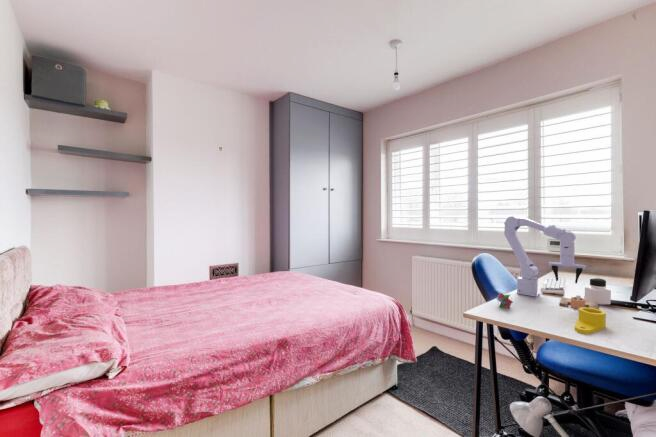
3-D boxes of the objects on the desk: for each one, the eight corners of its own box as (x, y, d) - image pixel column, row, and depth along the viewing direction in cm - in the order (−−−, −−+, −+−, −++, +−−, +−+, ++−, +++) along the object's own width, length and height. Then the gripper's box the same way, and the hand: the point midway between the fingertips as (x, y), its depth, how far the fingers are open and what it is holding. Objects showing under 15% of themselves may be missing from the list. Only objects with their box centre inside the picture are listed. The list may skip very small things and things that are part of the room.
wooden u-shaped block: (559, 305, 148) (559, 302, 148) (561, 299, 157) (561, 297, 157) (597, 311, 139) (597, 309, 139) (597, 305, 148) (597, 302, 148)
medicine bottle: (610, 304, 148) (611, 280, 148) (596, 304, 148) (596, 280, 148) (598, 300, 155) (598, 277, 155) (584, 300, 156) (584, 277, 155)
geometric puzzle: (519, 305, 142) (510, 289, 147) (509, 306, 140) (500, 290, 144) (508, 310, 148) (499, 294, 152) (498, 312, 145) (490, 296, 150)
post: (574, 307, 145) (574, 295, 145) (574, 305, 147) (574, 294, 147) (581, 308, 143) (582, 297, 143) (581, 307, 145) (582, 295, 145)
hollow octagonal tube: (570, 307, 145) (570, 299, 144) (571, 304, 148) (571, 296, 148) (584, 309, 141) (584, 301, 141) (585, 306, 145) (585, 298, 144)
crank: (582, 319, 130) (582, 306, 130) (608, 325, 123) (608, 311, 123) (567, 330, 119) (567, 315, 119) (594, 337, 113) (595, 321, 112)
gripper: (548, 254, 156) (548, 280, 156) (585, 257, 146) (584, 285, 147) (550, 253, 161) (549, 278, 161) (585, 255, 151) (585, 282, 152)
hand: (566, 281), depth 154 cm, fingers open, 7 cm apart
